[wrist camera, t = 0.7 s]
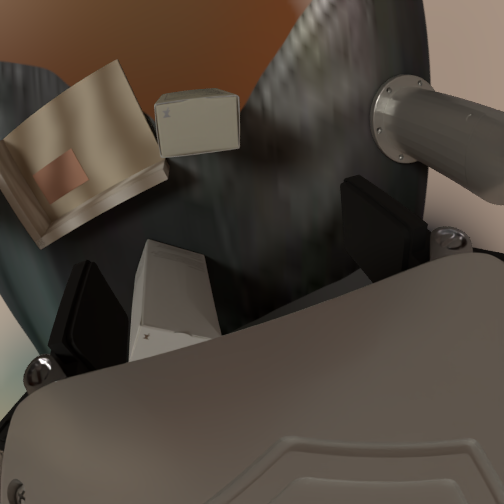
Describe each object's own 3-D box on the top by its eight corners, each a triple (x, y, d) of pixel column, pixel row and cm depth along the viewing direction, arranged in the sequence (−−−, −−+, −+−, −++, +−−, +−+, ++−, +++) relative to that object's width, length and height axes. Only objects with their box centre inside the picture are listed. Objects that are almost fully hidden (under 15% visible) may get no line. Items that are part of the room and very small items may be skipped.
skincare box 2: (134, 274, 41) (123, 366, 28) (148, 234, 38) (136, 323, 25) (191, 290, 44) (200, 381, 31) (208, 253, 41) (224, 343, 28)
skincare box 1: (164, 131, 32) (155, 161, 22) (161, 93, 29) (148, 103, 19) (222, 124, 33) (241, 150, 23) (220, 87, 30) (239, 94, 20)
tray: (118, 59, 26) (108, 57, 22) (169, 166, 34) (167, 179, 30) (-1, 143, 26) (-19, 154, 23) (52, 231, 34) (40, 249, 31)
